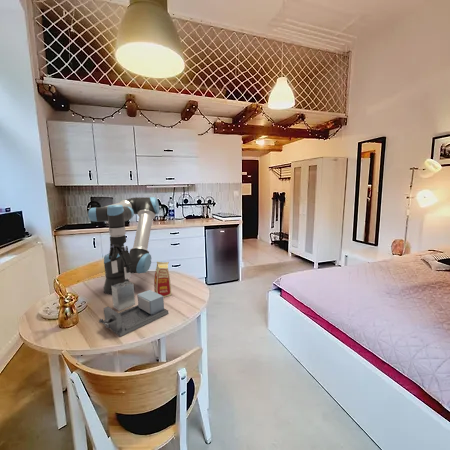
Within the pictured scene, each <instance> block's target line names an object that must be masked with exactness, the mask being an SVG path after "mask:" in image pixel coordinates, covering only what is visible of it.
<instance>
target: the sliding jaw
mask: <svg viewBox="0 0 450 450" xmlns="http://www.w3.org/2000/svg"><path fill="white" fill-rule="evenodd" d="M137 305H138V307H139V308H141V309H142V310H144V311H146V312H148V313H149V314H151V315H153V314H155V313H157V312H159V311H161V310H164V309H165V301H164V297H163V296H162V295H160V294H158V293H156V292H155V291H154V290H152V289H148V290H145V291H143V292H140V293H138V294H137Z"/></svg>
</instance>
